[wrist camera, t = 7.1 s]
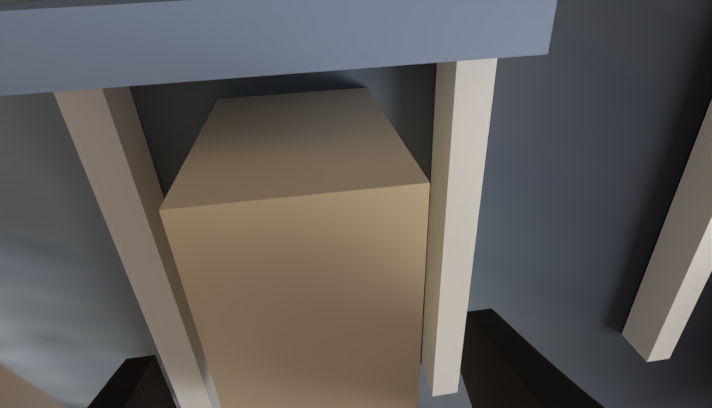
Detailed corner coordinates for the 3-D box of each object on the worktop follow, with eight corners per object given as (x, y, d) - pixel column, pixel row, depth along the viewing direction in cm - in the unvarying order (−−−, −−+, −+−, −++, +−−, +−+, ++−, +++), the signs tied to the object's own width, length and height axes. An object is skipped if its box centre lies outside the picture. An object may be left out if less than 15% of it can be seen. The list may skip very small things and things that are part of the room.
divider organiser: (642, 330, 18) (724, 415, 15) (199, 398, 16) (176, 511, 13) (798, -44, 11) (1021, -48, 8) (53, -3, 9) (-80, 15, 6)
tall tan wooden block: (373, 341, 17) (412, 510, 11) (271, 355, 16) (263, 538, 11) (366, 86, 12) (429, 182, 6) (218, 97, 11) (159, 210, 6)
